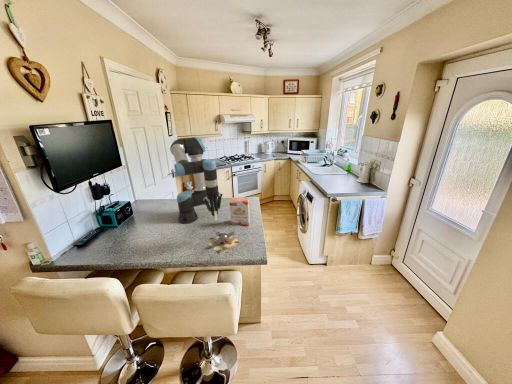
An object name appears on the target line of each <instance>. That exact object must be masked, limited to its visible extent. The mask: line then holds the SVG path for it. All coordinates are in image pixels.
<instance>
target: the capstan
mask: <svg viewBox="0 0 512 384" xmlns="http://www.w3.org/2000/svg"><path fill="white" fill-rule="evenodd" d="M226 233H227V232H222V233H221V232H220V231H216V232H215V235H216V236H217V237H220V238H218V239H216V240H214V241H212V244H213V245H215V244H217V243H219V242H220V243H221V244H227V243H228V244H229V245H231V244H232V241H230V240H229V239H228V238H229V237H231V236H233V237H234V235H235V232H234V231H231V232H228V234H226Z"/></svg>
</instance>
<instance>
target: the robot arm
mask: <svg viewBox="0 0 512 384" xmlns="http://www.w3.org/2000/svg"><path fill="white" fill-rule="evenodd" d="M205 148H206V147H205V144H204V140H203V139H202V138H201V137H197V136H194V137H181V138H177V139H175V140H174V141H173V142H172V143H171V144H170V148H169V150H170V153H171V155H173V158H174V161H175V163H174V167H173V168H174V172H175V176H177V177H185V176H190V175H193V179H194V180H193V182H194V187H195V188H194V189H193V192H192V191H191V190H185V191H182V192H180V193H178V194H177V195H176V200H177V206H178V212H179V213H178V217H177V218H178V222H179V223H180V224H182V225H185V224H186V225H187V224H191V223H194V222H196V221H197V220H198V219H199V218H198V217H199V216H198V213H197V212H196V210H195V207H200V206H205V205H206V208H207V210H208V211H209V212H210V213H211V216H212V219H213V220H214V221H216V222H217V221H218V215H219V212H218V211H219V210H220V209H221V203H222V197H223V193H221V192H219V182H218V171H217V170H218V169H217V163H216V160H215V159H209V158H208V159H207V158H203V156H204V152H205V151H206V149H205ZM187 156H188V157H189V158H190V161H189V159H188V157H187Z"/></svg>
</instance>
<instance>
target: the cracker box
mask: <svg viewBox="0 0 512 384" xmlns="http://www.w3.org/2000/svg"><path fill="white" fill-rule="evenodd" d="M229 213H230V224H231V225H239V226H243V227H244V226H247V227H249V226H250V221H251V220H250V219H251V217H250V214H251V213H250V198H241V197H239V198H235V197H234V198H233V197H230V199H229Z"/></svg>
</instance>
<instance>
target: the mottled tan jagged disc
mask: <svg viewBox="0 0 512 384" xmlns="http://www.w3.org/2000/svg"><path fill="white" fill-rule="evenodd" d="M225 233H226V234H228V233H229V232H225ZM218 238H220V237H219V236H217V237H215V238H212V239H210V240H209V241H208V240H207V241H206V244H208V245H209V246H210V248H212V249H213V250H214V251H215V252H216V253H217V254H219V255H222V254H224V253H225V252H227V251H229V250H231V249H233V248H235V247H238V245H241V244H242V242H241V241H240V240H239V239H237V238H236V237H235V236H234V235H233V236H231V237H229V238H228V239H229V240H230V241H232V244H231V245H229V244H228V243H227V244H221V243H220V242H219V243H217V244H215V245H213V244H212V241H214V240H216V239H218Z"/></svg>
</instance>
